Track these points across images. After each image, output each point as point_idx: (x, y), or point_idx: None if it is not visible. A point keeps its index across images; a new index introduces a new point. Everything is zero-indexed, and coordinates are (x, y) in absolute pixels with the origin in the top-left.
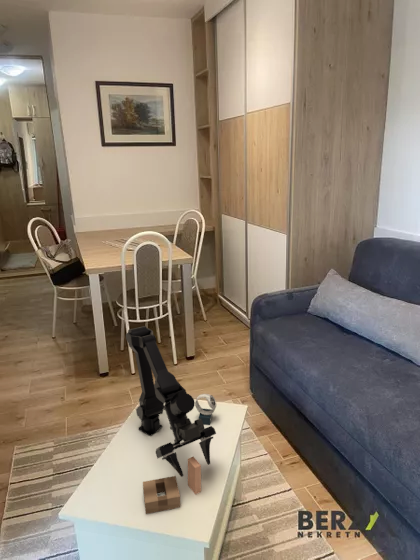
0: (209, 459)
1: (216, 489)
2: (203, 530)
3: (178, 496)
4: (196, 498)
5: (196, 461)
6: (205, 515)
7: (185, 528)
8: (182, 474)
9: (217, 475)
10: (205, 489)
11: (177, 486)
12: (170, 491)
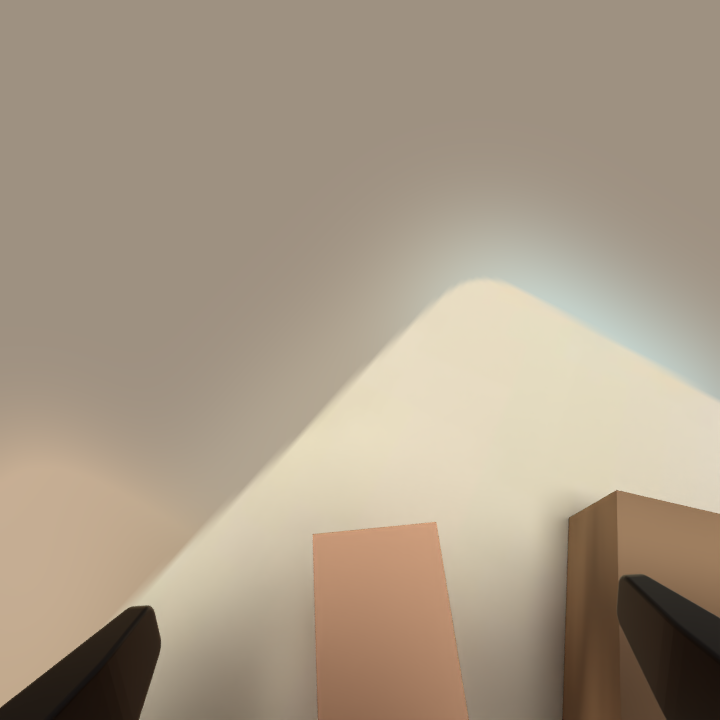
0: (82, 651)
1: (233, 538)
2: (469, 305)
3: (631, 498)
4: None
5: (339, 681)
6: (418, 379)
7: (569, 354)
8: (649, 586)
9: None
10: (309, 586)
11: (624, 636)
12: (717, 606)
